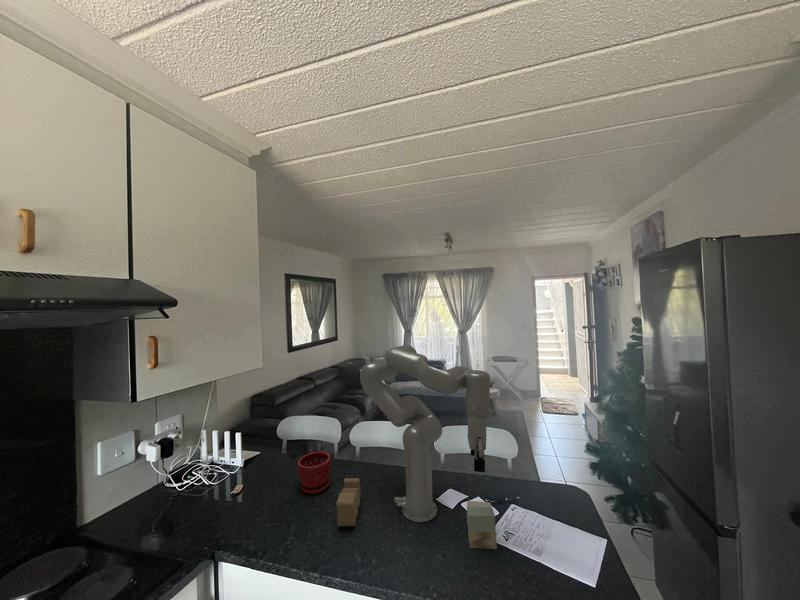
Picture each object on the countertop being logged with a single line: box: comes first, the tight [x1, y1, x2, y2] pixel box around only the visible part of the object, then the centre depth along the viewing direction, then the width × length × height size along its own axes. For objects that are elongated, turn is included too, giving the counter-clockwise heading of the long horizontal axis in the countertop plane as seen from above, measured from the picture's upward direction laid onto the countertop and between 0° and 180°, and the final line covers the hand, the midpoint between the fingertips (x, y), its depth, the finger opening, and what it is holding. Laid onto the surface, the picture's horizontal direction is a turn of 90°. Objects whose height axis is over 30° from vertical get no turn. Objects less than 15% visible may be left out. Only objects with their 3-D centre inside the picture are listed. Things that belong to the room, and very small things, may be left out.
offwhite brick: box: [466, 500, 492, 508], centre depth 107 cm, size 8×4×5 cm, turn 80°
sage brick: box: [466, 506, 496, 533], centre depth 97 cm, size 8×4×5 cm, turn 86°
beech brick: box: [467, 528, 498, 550], centre depth 96 cm, size 8×4×5 cm, turn 85°
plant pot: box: [297, 451, 332, 494], centre depth 128 cm, size 13×13×12 cm
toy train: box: [335, 477, 362, 527], centre depth 111 cm, size 6×17×10 cm, turn 179°
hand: (477, 462), depth 99 cm, fingers open, 9 cm apart
